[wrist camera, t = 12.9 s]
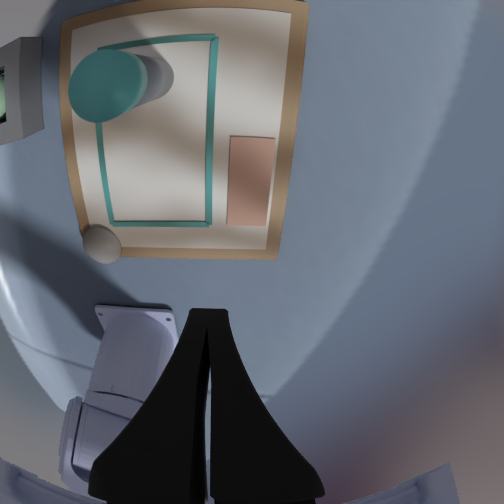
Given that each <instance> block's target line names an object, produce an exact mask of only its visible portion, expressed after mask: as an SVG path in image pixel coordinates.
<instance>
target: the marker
mask: <svg viewBox="0 0 504 504" xmlns="http://www.w3.org/2000/svg"><path fill="white" fill-rule="evenodd" d="M173 81H174V73H173V70H172V67H171V66H170V65H169V64H168V63H167V62H166V61H164V60H162V59H158V58H153V57H148V56H143V55H137V54H133V53H130V52H126V51H120V50H113V49H103V50H98V51H95V52H93V53H91V54H89V55H88V56H86V57H85V58H84V59H83V60H82V61H81V62H80V63H79V64H78V65H77V66H76V68H75V69H74V71H73V73H72V75H71V78H70V81H69V86H68V97H69V101H70V104H71V107H72V109H73V110H74V112H75V113H76V114H77V115H78V116H79V117H80V118H82V119H84V120H86V121H88V122H93V123H101V122H106V121H109V120H111V119H114V118H116V117H118V116H120V115H122V114H124V113H127V112H128V111H130V110H131V109H133V108H135V107H138V106H140V105H143V104H145V103H148V102H150V101H153V100H156V99H158V98H161V97H162V96H164V95H165V94H166V93H167V92H168V91H169V90H170V88H171V87H172V84H173Z"/></svg>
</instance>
